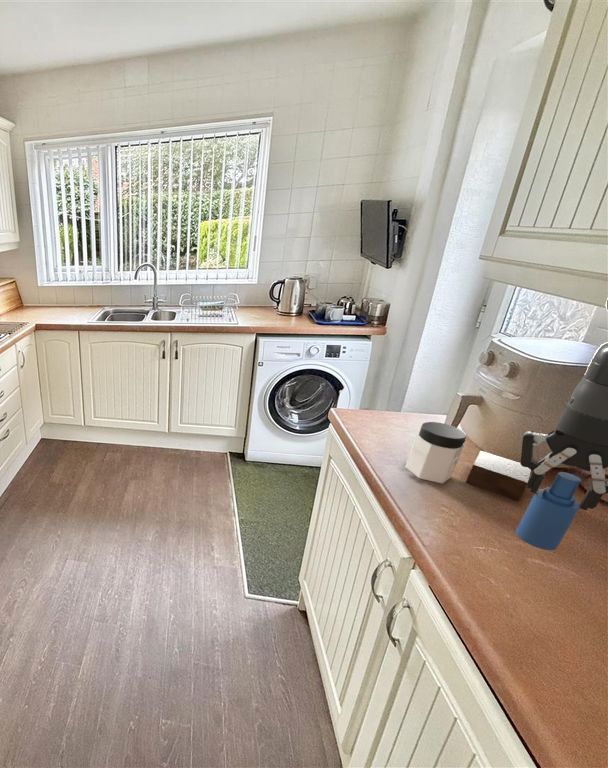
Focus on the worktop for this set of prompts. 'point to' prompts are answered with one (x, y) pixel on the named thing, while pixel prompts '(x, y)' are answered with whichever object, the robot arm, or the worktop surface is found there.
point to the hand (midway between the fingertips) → (557, 498)
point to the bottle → (550, 513)
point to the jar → (436, 451)
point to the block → (499, 475)
